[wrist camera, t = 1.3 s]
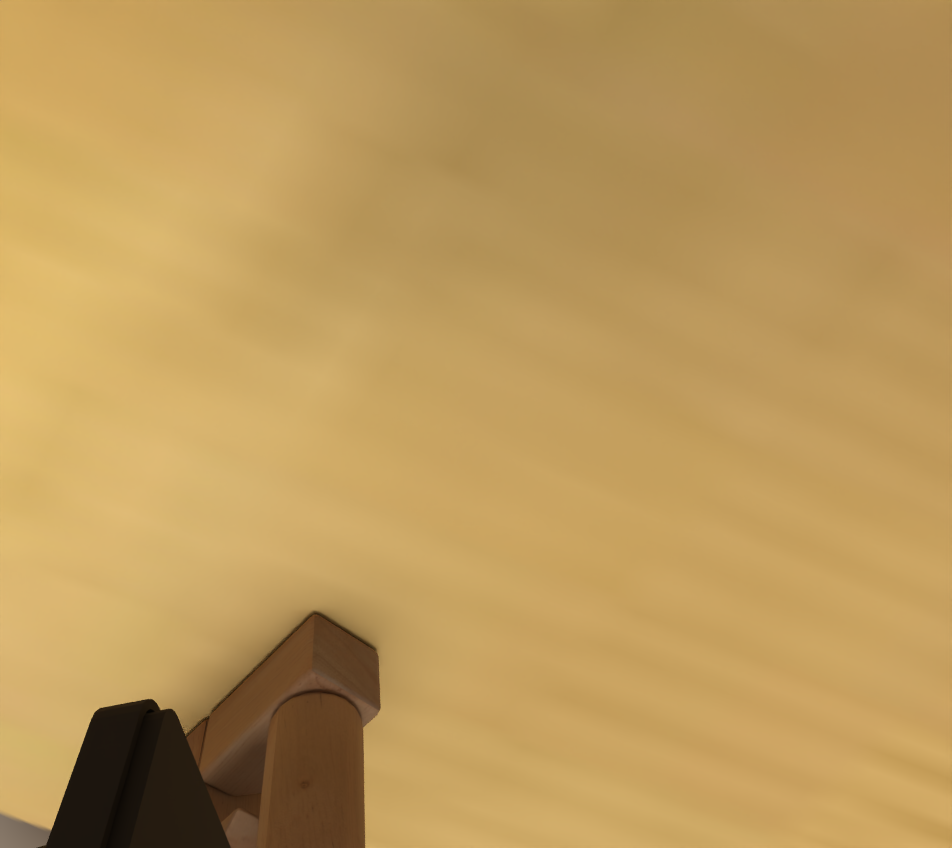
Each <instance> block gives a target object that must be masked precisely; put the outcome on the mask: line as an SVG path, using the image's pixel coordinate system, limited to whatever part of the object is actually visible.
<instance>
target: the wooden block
mask: <svg viewBox="0 0 952 848" xmlns="http://www.w3.org/2000/svg"><path fill="white" fill-rule="evenodd" d="M379 710H380V684H379V660H378V655H377V653H376V652H375V650H373V649H372V648H370V647H368V646H367V645H365V644H364V643H362V642H361V641H359V640H357V639H356V638H354V637H353V636H351V635H349V634H348V633H346V632H345V631H343V630H342V629H340V628H338V627H337V626H335V625H334V624H332V623H330V622H329V621H327V620H326V619H324V618H323V617H321V616H319V615H313V616H311V617H310V618H309V619H308V620H307V621H306V622H305V623H304V624H303V625H302V626H301V627H300V628H299V629H298V630H297V631H296V632H295V633H294V634H293V635H292V636H290V637H289V638H288V639H287V640H286V641H285V642H284V643H283V644H282V645H281V646H280V647H279V648H278V649H277V650H276V651H275V652H274V653H273V654H272V655H271V656H270V657H269V658H268V659H267V660H266V661H265V662H264V663H263V664H262V665H261V666H260V667H259V668H258V669H257V670H256V671H255V672H254V673H253V674H252V675H251V676H249V677H248V678H247V679H246V680H245V681H244V682H243V683H242V684H241V685H240V686H239V687H238V688H237V689H236V690H235V691H234V692H233V693H232V694H231V695H230V696H229V697H228V698H227V699H226V700H225V701H224V702H223V703H222V704H221V705H220V706H219V707H218V708H217V709H216V710H215V711H214V712H213V713H212V714H211V715H210V717H209V719H207V720H204V721H203V722H202V723H201V724H200V725H199V726H198V727H197V728H196V729H195V730H194V731H193V732H192V733H191V734H190V735H189V736H188V737H187V738H186V739H187V741H188V744H189V746H190V748H191V751H192V753H193V756H194V758H195V761H196V763H197V766H198V768H199V770H200V773H201V775H202V778H203V780H204V783H205V785H206V788H207V790H208V793H209V795H210V797H211V800H212V802H213V805H214V807H215V810H216V812H217V815H218V817H219V820H220V822H221V824H222V827H223V829H224V832H225V834H226V837H227V839H228V842H229V844H230V846H231V848H365V809H364V750H363V727H364V726H365V725H366V724H367V723H369V722H370V721H371V720H372V719H373V718H374V717H375V716H376V715H377V714H378V712H379Z"/></svg>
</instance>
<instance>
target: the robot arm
mask: <svg viewBox="0 0 952 848" xmlns="http://www.w3.org/2000/svg"><path fill="white" fill-rule="evenodd" d="M38 848H231V846H230V844H229V842H228V839H227V837H226V834H225V832H224V829H223V827H222V824H221V822H220V820H219V817H218V815H217V812H216V810H215V807H214V805H213V802H212V800H211V797H210V795H209V793H208V790H207V788H206V785H205V783H204V780H203V778H202V775H201V773H200V770H199V768H198V766H197V763H196V761H195V758H194V756H193V753H192V751H191V748H190V746H189V744H188V741H187V739H186V736H185V734H184V731H183V729H182V726H181V724H180V721H179V719H178V717H177V715H176V713H175V711H173V710H172V709H166V710H160V708H159V707H158V705H157V703H156V702H155V701H154V700H152V699H146V700H141V701H136V702H130V703H125V704H120V705H114V706H109V707H104V708H99V709H98V710H97V711H96V712H95V713H94V715H93V717H92V719H91V722H90V724H89V727H88V730H87V733H86V736H85V738H84V741H83V744H82V747H81V750H80V752H79V755H78V758H77V761H76V764H75V766H74V769H73V772H72V775H71V777H70V780H69V783H68V786H67V789H66V791H65V794H64V797H63V800H62V803H61V805H60V808H59V811H58V814H57V817H56V819H55V822H54V825H53V828H52V831H51V833H50V836H49V839H48V842H47V845H45V846H41V847H38Z"/></svg>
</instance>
